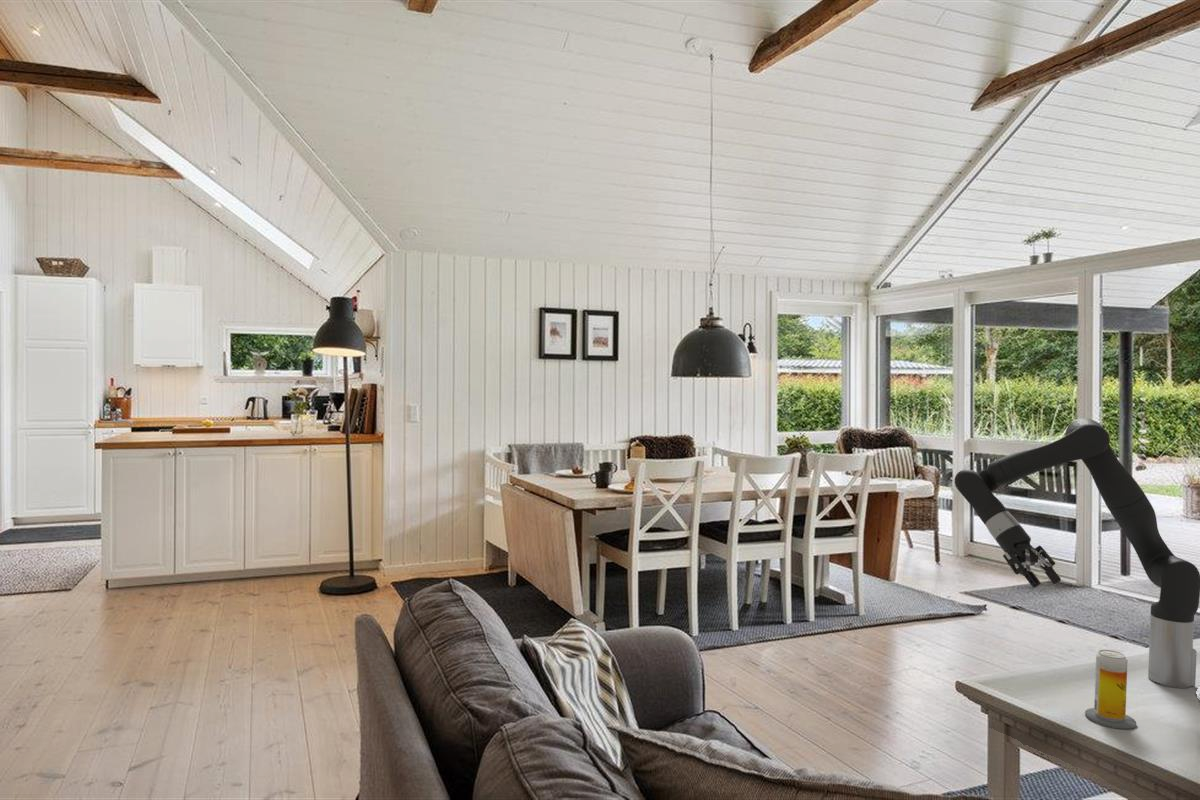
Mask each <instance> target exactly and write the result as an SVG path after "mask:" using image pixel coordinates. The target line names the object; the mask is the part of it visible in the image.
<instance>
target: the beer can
mask: <svg viewBox="0 0 1200 800" xmlns="http://www.w3.org/2000/svg"><path fill="white" fill-rule="evenodd" d="M1094 678H1095V679H1094V681H1095V682H1094V707H1093V708H1094V711H1095V712H1096V713H1097V715H1098V716H1099V717H1101V718H1103V719H1105V720H1109V721H1115V722H1119V721H1122V720H1123V719H1124V718H1125V715H1127V713H1126V711H1127V710H1126V709H1127V683H1128V681H1127V680H1128V659H1127V656H1126V654H1124V653H1123V652H1120V651H1116V650H1113V649H1099V650H1098V651H1097V654H1096V656H1095V677H1094Z"/></svg>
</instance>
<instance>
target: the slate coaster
mask: <svg viewBox="0 0 1200 800" xmlns="http://www.w3.org/2000/svg"><path fill="white" fill-rule="evenodd" d="M1084 716H1085V717H1086V719H1088V720H1089V721H1091V722H1093V723H1095V724H1097V725H1100V726H1103V727H1107V728H1109V727H1110V729H1115V730H1121V731H1122V730H1124V731H1126V730H1128V731H1129V730H1134V729H1135V728H1136V727H1137V721H1136V719H1134V718H1133V717H1131V716H1130V715H1128V714H1125V718H1124V719H1123V720H1122V721H1119V722H1115V721H1109V720H1105V719H1103V718H1101V717H1099V716H1098V715H1097V713H1096V712H1095V711H1094V707H1091V708H1090V707H1089V708H1087V709H1086V710H1084Z"/></svg>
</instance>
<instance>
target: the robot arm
mask: <svg viewBox="0 0 1200 800" xmlns="http://www.w3.org/2000/svg"><path fill="white" fill-rule="evenodd" d="M1110 437H1111V436H1110V435H1109V433H1108V431H1107V429H1106V428H1105V427H1103V425H1101V424H1100V423H1099V422H1098V421H1097V420H1094V419H1091V418H1086V417H1082V418H1081V417H1080V418H1076V419H1074V420H1073V421H1071V422H1070V423H1069V424H1068V425H1067V427H1066V430H1065V436H1062V437H1060V438H1059V439H1056V440H1055V441H1053V442H1050V443H1048V444H1045V445H1041V446H1038V447H1032V448H1028V449H1024V450H1019V451H1016V452H1013V453H1010V454H1008V455H1005V456H1004V457H1000V458H997V459H995V460H994V461H991V462H990V463H989V464H988V465H987V468H984V469H982V470H980V471H975V470H972V469H967V468H966V469H961V470H960V471H958V472H957V473H956V474H955V477H954V485H955V488H956V489H957V490H958V492H959V493H960V494H961V495H962V496H963V498H964V499H965V500H966V501H967V502H968V504H969V505H970V506H971V507H972V508H973V510H974V512H975V513H976V514H977V516H978V518H979V520H981V521H982V523H983V525H984V526H985V527H986V529H987V530H988V533H989V534H990V535H991V537H992V538H993V539H994V540H995V542H996V543H997V544H998V545H999V547H1000V548H1001V549H1002V551H1003V552H1004V554H1003V555H1002V557H1003V558H1004V559H1005V561H1006V563H1007V564H1008V566H1009V567H1010V569H1012V571H1013V572H1014V573H1015V574H1016V575H1021V576H1024V578H1025V579H1026V580H1027V581H1028V583H1029V584H1030V585H1031V586H1032V588H1033V589H1034V588H1037V587H1039V586H1041V585H1042V582H1041V581H1040V580H1039V578H1038V577H1037V575H1036V574H1035V573H1034V572H1033V571H1031V567H1034V568H1036V569H1037V568H1038V569H1040V570H1042V571H1043V572H1044V574H1045V575H1046V577H1047V578H1048V579H1049V580H1050V582H1052V584H1054V585H1056V584H1058V583H1059V582H1061V581H1062V579H1061V577H1060V575H1059V574H1058V573H1057V572H1056V571H1055V570H1054V566H1055V565H1056V562H1055V560H1054V559H1053V558H1052V557H1051V556H1050V555H1049V553H1048V552H1047V551H1046V550H1045V549H1044V548H1043V547H1042V546H1041V545H1037V546H1036V547H1033V546H1032V545H1031V540H1032V538H1031V536H1030V535H1029V534H1028V533H1027V532H1026V530H1025V528H1024V527H1023V526H1022V525H1021V524H1020V522H1019V521H1018V520H1017V519H1016V518H1015V516H1013V515H1012V514H1011V513H1010V511H1009V510H1008V509H1007V508H1006V507H1005V505H1004V504H1003V503H1002V502H1001V501H1000V500H999V499H998V497H996V495H995V494H994V491H996V490H997V489H999V488H1000V487H1002V486H1004V485H1007V484H1009V483H1012V482H1015V481H1017V480H1019V479H1022V478H1025V477H1027V476H1030V475H1033V474H1036V473H1038V472H1041V471H1044V470H1046V469H1047V470H1048V469H1050V468H1052V467H1057V466H1059V465H1063V464H1066V463H1070V462H1074V461H1079V460H1081V461H1082V462H1083V463H1084V465H1085V466H1086V468H1087V469H1088V471H1089V473H1090V475H1091V477H1092V479H1093V481H1094V484H1095V486H1096V488H1097V490H1098V492H1099V494H1100V496H1101V498H1102V500H1103V502H1104V504H1105V505H1106V507H1107V509H1108V511H1109V512H1110V514H1111V515H1112V517H1113V519H1114V520H1115V522H1116V523H1117V525H1118V526H1119V528H1120V530H1121V531H1122V532H1123V534H1124V535H1125V537H1126V538H1127V539H1128V541H1129V542H1130V544H1131V545H1132V547H1133V549H1134V551H1135V553H1136V555H1137V557H1138V560H1139V561H1140V563H1141V565H1142V568H1143V570H1144V572H1145V575H1146V576H1147V578H1148V579H1149V580H1150V582H1152V583H1153V585H1155V586H1156V587H1158V588H1160V592H1159V599H1158V601H1156V602H1153V603H1151V605H1150V621H1149V622H1150V623H1149V645H1148V646H1149V647H1148V648H1149V649H1148V667H1147V669H1148V670H1147V672H1148V673H1147V678H1148V677H1149V678H1150V679H1151V680H1150V679H1149V678H1148V679H1149V680H1150V681H1152V680H1153V681H1152V682H1154V681H1155V682H1154V683H1156V682H1157V683H1156V684H1159V683H1160V685H1162V686H1166V687H1171V688H1176V689H1177V688H1179V689H1180V688H1181V689H1186V688H1191V687H1196V677H1197V675H1196V674H1197V656H1198V655H1197V650H1196V649H1194V625H1195V616H1196V613H1197V612H1198V609H1199V606H1200V571H1199V569H1198V567H1197V566H1196V565H1195V564H1193V563H1192V562H1190V561H1188V560H1185V559H1183V558H1180V557H1178V556H1176V555H1175V554H1174V553H1173V552H1172V551H1171V550H1170V548H1169V547H1168V545H1167V544H1166V542H1165V541H1164V539H1163V538H1162V536H1161V534H1160V531H1159V528H1158V521H1157V515H1156V512H1155V509H1154V506H1153V505H1152V503H1151V501H1150V499H1148V497H1147V495H1146V494H1145V492H1144V490H1143V489H1142V488H1141V486H1140V485H1139V483H1138V482H1137V481H1136V479H1135V478H1134V477H1133V476H1132V475H1131V474H1130V472H1129V471H1128V470H1127V469H1126V468H1125V467H1124V465H1123V464H1122V463H1121V462H1120V460H1119V459H1118V458H1117V456H1116V454H1115V452H1114V450H1113V449H1112V447H1111V444H1110V442H1111V439H1110ZM1016 566H1017V567H1016Z"/></svg>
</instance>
